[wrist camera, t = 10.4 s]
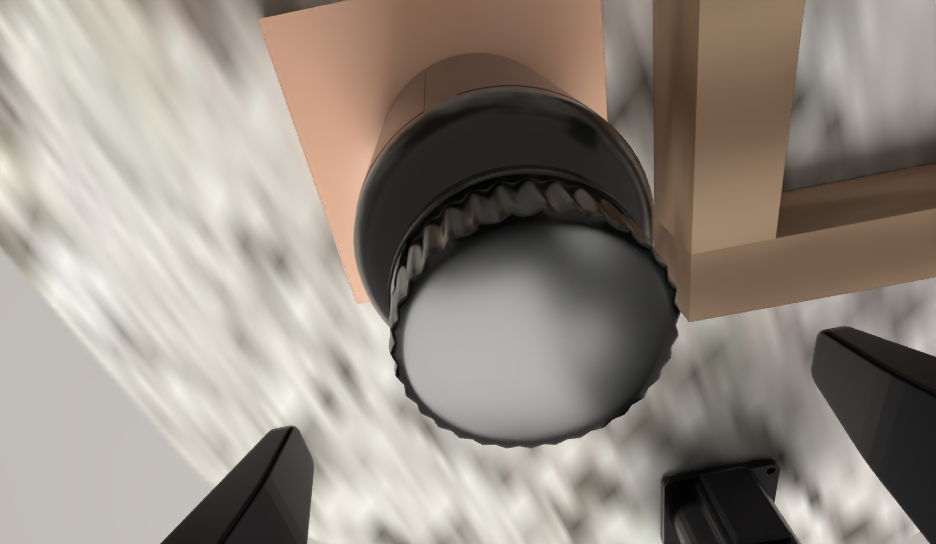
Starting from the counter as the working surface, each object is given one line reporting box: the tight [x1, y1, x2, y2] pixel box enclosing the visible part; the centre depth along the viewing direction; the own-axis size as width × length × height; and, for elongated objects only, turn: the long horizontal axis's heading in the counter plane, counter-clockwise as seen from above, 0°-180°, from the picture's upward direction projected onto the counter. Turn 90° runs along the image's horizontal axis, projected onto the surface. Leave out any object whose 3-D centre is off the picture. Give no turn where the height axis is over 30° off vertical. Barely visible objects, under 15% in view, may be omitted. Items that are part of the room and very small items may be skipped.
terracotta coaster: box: [258, 0, 607, 304], centre depth 19 cm, size 11×11×1 cm
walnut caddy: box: [653, 0, 936, 322], centre depth 17 cm, size 15×15×4 cm
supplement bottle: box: [353, 53, 681, 448], centre depth 13 cm, size 7×7×12 cm
